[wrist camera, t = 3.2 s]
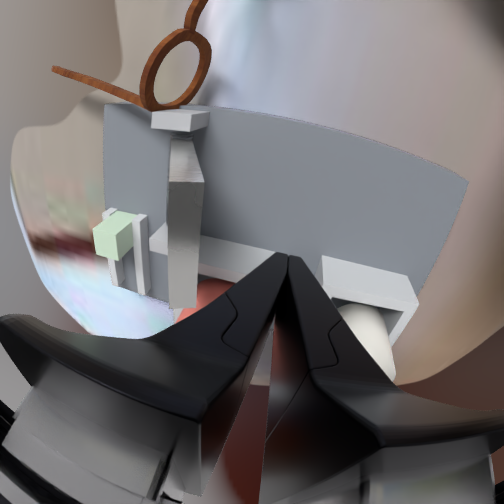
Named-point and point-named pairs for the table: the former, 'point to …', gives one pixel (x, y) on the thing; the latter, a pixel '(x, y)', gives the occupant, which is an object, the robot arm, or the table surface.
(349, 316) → the button white
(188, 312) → the button red
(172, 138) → the grey rectangular slab
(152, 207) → the panel
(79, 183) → the table surface
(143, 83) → the glasses
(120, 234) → the slider knob
